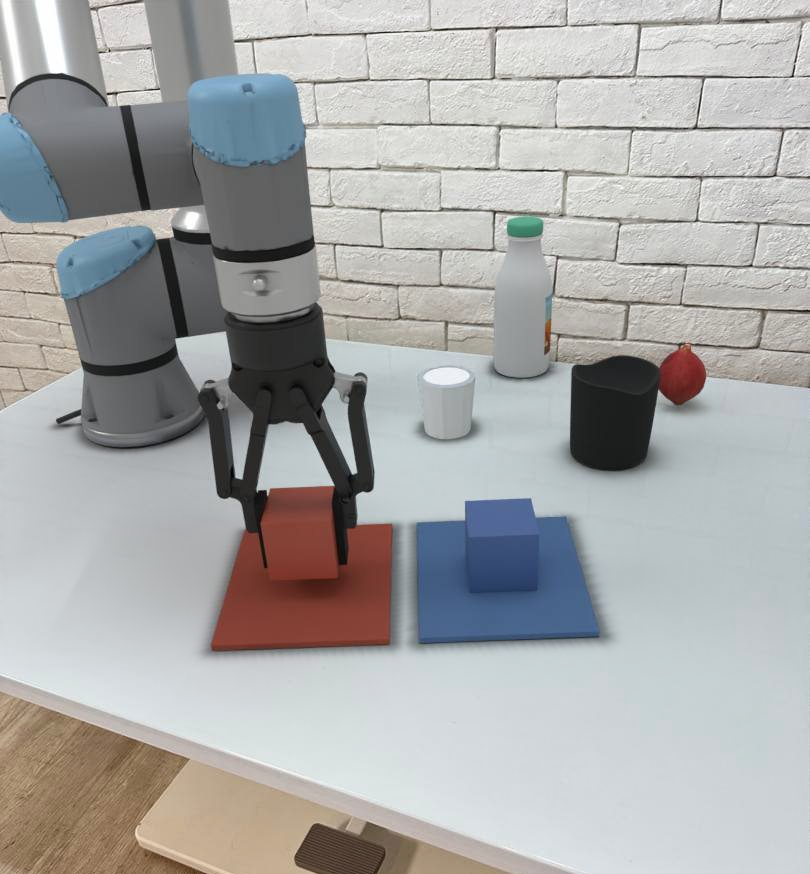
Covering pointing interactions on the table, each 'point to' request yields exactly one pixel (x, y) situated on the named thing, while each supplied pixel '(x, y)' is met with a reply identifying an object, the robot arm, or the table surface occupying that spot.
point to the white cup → (447, 400)
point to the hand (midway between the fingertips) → (306, 557)
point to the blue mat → (500, 611)
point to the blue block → (501, 545)
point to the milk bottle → (523, 303)
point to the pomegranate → (682, 375)
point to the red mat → (310, 599)
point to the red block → (300, 533)
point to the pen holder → (613, 411)
